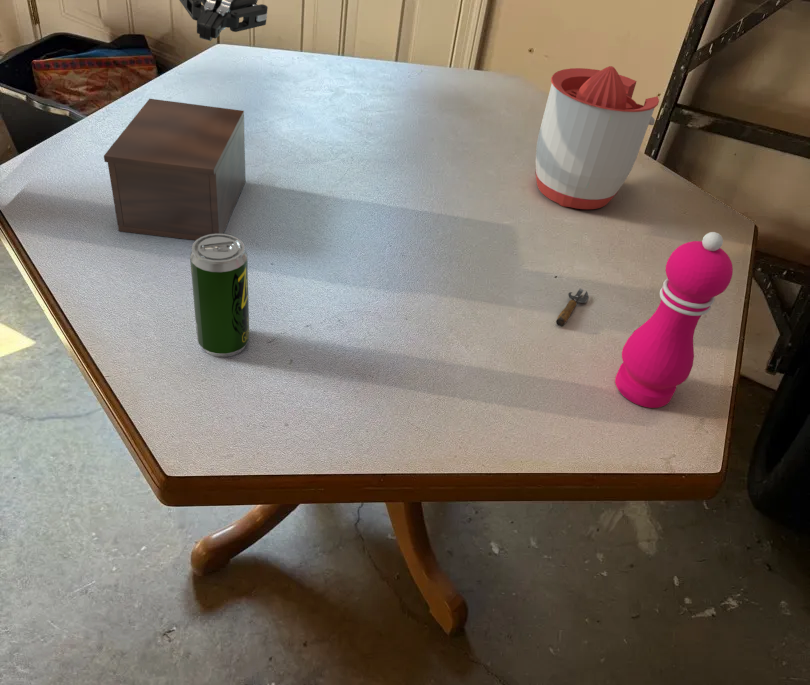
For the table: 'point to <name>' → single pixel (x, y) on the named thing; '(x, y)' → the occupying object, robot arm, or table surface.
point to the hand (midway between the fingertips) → (205, 33)
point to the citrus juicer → (589, 136)
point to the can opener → (571, 306)
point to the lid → (176, 137)
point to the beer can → (220, 294)
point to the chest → (179, 196)
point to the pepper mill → (674, 323)
